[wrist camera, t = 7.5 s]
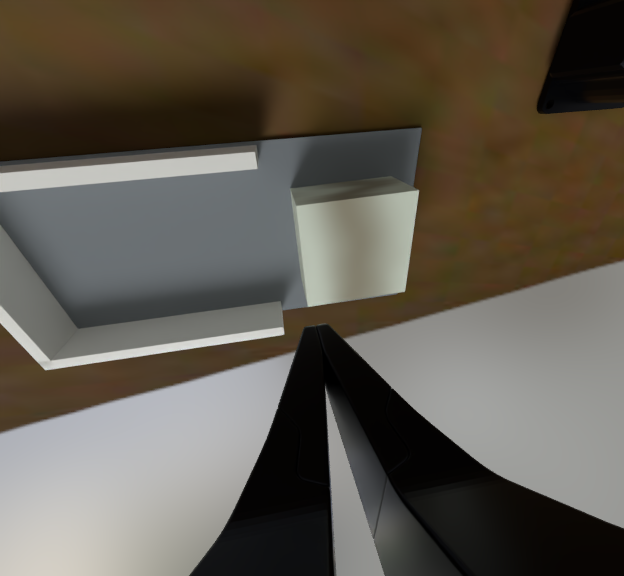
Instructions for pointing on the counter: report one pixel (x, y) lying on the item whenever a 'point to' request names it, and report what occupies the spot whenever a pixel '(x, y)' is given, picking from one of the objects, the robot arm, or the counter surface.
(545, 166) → the counter surface
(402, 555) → the robot arm
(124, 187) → the mat
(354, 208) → the sage block
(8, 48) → the counter surface
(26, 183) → the cubby
